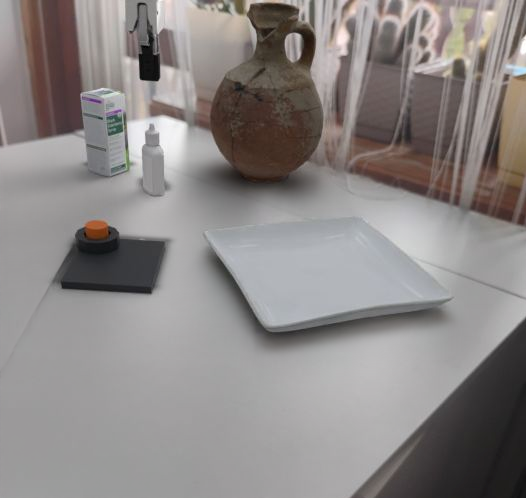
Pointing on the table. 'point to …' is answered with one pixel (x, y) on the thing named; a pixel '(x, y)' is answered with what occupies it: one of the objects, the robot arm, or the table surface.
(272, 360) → the table surface
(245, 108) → the jug
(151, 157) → the eye dropper bottle
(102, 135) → the syrup box
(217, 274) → the table surface
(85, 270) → the dark grey button base
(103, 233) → the power button
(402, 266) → the square plate
